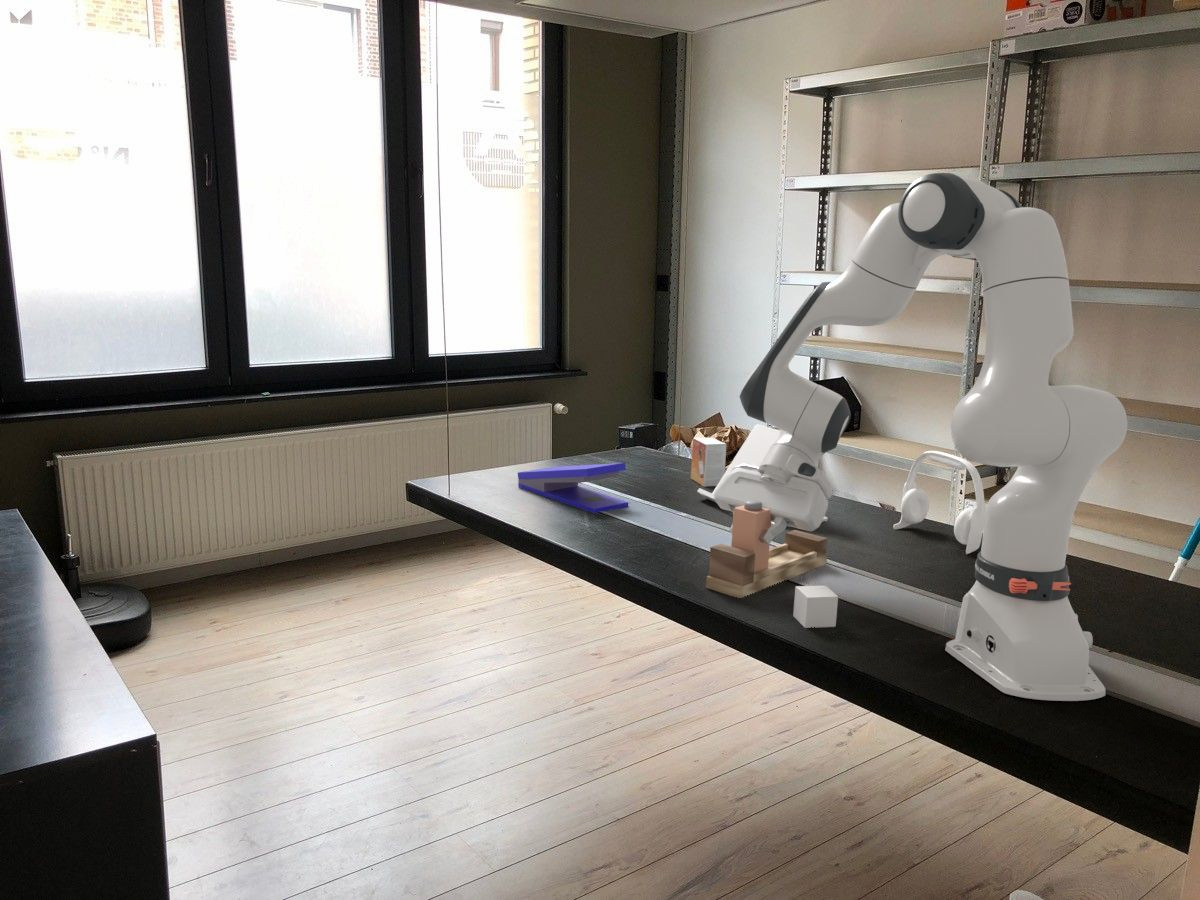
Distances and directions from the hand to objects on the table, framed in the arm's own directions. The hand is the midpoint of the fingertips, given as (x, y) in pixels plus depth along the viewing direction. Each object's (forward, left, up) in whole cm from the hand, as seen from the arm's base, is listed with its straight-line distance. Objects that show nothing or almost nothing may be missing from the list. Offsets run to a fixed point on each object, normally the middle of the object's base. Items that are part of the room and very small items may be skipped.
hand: (748, 537), depth 165 cm
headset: (+29, -44, -9) cm, 53 cm away
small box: (+73, -3, -9) cm, 73 cm away
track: (+5, -5, -8) cm, 11 cm away
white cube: (-16, -8, -9) cm, 20 cm away
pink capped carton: (0, 0, -6) cm, 6 cm away
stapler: (+57, +30, -9) cm, 65 cm away
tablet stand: (+49, -11, -9) cm, 51 cm away
